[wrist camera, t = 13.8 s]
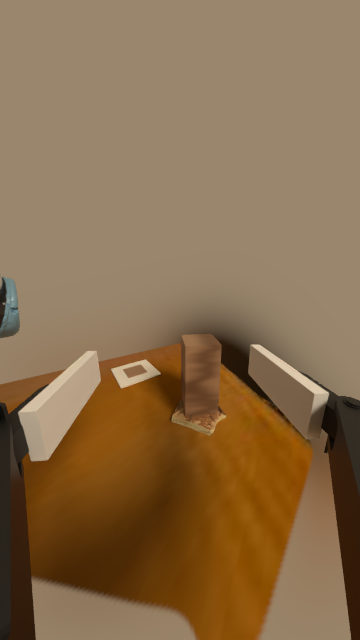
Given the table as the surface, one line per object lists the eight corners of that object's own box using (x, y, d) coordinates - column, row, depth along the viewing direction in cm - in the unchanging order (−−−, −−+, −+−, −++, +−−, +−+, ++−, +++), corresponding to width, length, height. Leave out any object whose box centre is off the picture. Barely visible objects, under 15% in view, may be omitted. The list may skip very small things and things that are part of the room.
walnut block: (185, 415, 25) (185, 346, 23) (181, 394, 30) (181, 335, 28) (217, 412, 26) (221, 344, 23) (208, 391, 31) (211, 333, 28)
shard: (194, 386, 35) (194, 378, 35) (232, 396, 32) (232, 388, 32) (169, 425, 26) (169, 414, 25) (219, 444, 23) (220, 433, 22)
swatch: (111, 370, 41) (110, 368, 41) (145, 360, 46) (145, 358, 46) (120, 388, 34) (120, 386, 34) (160, 374, 39) (160, 372, 39)
